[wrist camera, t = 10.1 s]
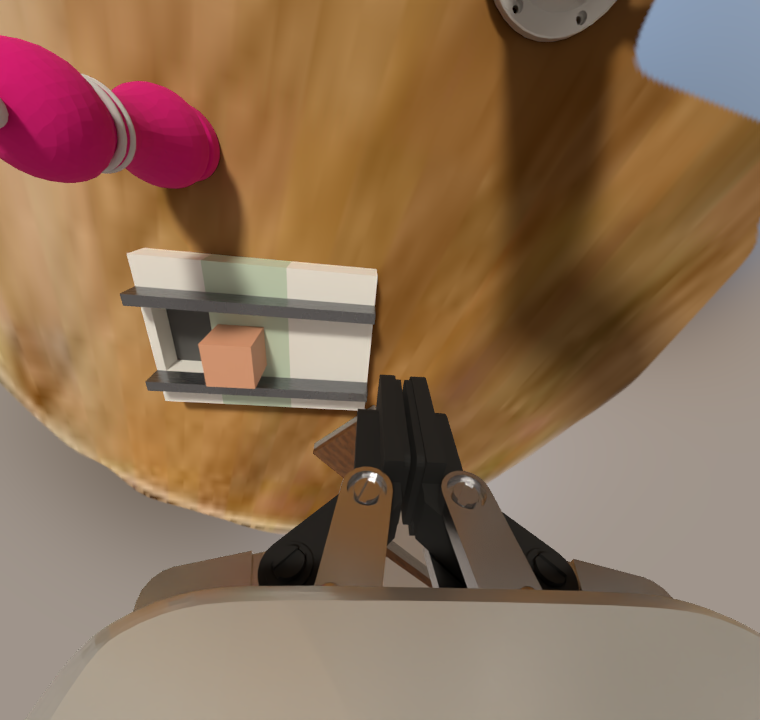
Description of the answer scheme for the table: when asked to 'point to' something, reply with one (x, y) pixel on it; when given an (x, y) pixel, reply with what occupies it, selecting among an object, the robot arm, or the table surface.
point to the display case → (404, 550)
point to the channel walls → (257, 307)
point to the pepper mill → (96, 124)
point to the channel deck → (259, 319)
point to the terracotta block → (233, 356)
